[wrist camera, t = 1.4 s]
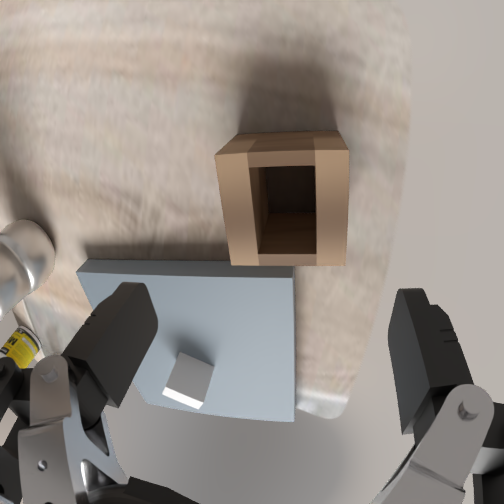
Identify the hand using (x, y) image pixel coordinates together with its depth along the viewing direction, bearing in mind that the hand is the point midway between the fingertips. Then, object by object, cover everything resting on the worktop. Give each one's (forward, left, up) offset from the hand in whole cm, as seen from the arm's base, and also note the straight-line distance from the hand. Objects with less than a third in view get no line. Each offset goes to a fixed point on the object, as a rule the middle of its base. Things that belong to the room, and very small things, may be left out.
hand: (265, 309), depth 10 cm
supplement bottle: (+20, -38, -12) cm, 44 cm away
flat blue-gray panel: (+16, -9, -11) cm, 21 cm away
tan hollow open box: (0, 0, -11) cm, 11 cm away
